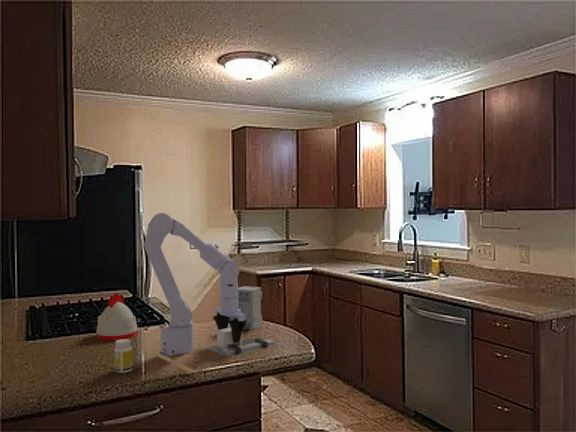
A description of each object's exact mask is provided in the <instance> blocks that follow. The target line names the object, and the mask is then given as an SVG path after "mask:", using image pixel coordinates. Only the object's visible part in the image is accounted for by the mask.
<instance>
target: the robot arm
mask: <svg viewBox="0 0 576 432" xmlns="http://www.w3.org/2000/svg"><path fill="white" fill-rule="evenodd" d="M169 234H171V236H175V237H181V238H182V239H183V240H185V241H186V242H187V243H188V244H190V246H192V248H195V250H197V251H198V252H199V258H200V259H202V260H203V261H204V262H205V263H206V264H208V265H209V266H210V267H211V268H213V270H216V271H218V273H219V275H220V276H219V279H220V283H219V299H220V302H219V303H220V304H219V305H220V306H219V307H218V306H217V307H215V308H214V314H215V315H214V316H213V317H212V318H213V320H214V323H215V324H216V327H217V330H221V329H226V328H231V331H232V339H233V342H234V343H236V342H240V339H241V334H242V335H243V331H244V329H243V328H244V326H245V324H246V322H247V320H245V314H243V313H241V309H238V288H239V283H238V276H239V274H240V269H239V268H240V267H239V265H238V263H237V262H235V261H234V260H233V259H232V258H231V256H230V255H229V254H226V253H225V252H223V251H222V250H221V249H219V248H220V246H219V245H218V244H216V243H215V244H214V243H212V242H211V243H205V242H204V241H203V240H202V239H201V238H200V237H199V236H197V235H196V234H195V233H194V232H193V231H192V230H190V229H189V228H188V227H187V226H186V225H185V224H184V223H181V222H180V221H178V220H176V219H174V218H173V217H171V216H170V215H169V214H167V213H165V212H160V213H156V214H154V216H153V217H152V218H151V220H150V221H149V223H148V225H147V229H146V235H145V239H144V244H143V245H144V250H145V252H146V254H147V256H148V257H147V258H148V259H149V261H150V263H151V266H152V269H153V271H154V273H155V276H156V277H157V280H158V282H159V285H160V287H161V289H162V292H163V294H164V297H165V299H166V301H167V304H168V306H169V314H170V320H171V321H169V323H168V326H166V327H163V328H161V330H160V352H159V354H160V355H163V356H164V357H166V358H168V359H171V360H172V359H173V358H172V357H171V356H176V355H180V354H188V353H191V352H193V351H194V331H193V330H194V329H193V328H194V324H193V321H192V319H193V312H192V310H191V308H190V306H189V304H188V302H186V301H185V300H184V299H183V296H182V294H181V292H180V290H179V288H178V285H177V283H176V281H175V277H174V275H173V274H172V271H171V269H170V267H169V263H168V262H167V259H166V257H165V255H164V252H163V250H162V248H161V247H162V244H163V243H164V240H165V238H166V237H167V236H168V235H169ZM230 318H233V319H234V320H231V321H229V319H230ZM229 326H230V327H229Z"/></svg>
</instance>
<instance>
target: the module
mask: <svg viewBox="0 0 576 432" xmlns="http://www.w3.org/2000/svg"><path fill="white" fill-rule="evenodd" d="M243 340H244V339H243V333H242V334H241V339H240V342H236V343H235V344H237V345H243ZM232 343H234V342H233V339H232V331H231V327H228V328H226V329H221V330H218V329H217V330H216V346H217V347H220V348H222V349H227V345H228V344H232Z"/></svg>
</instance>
